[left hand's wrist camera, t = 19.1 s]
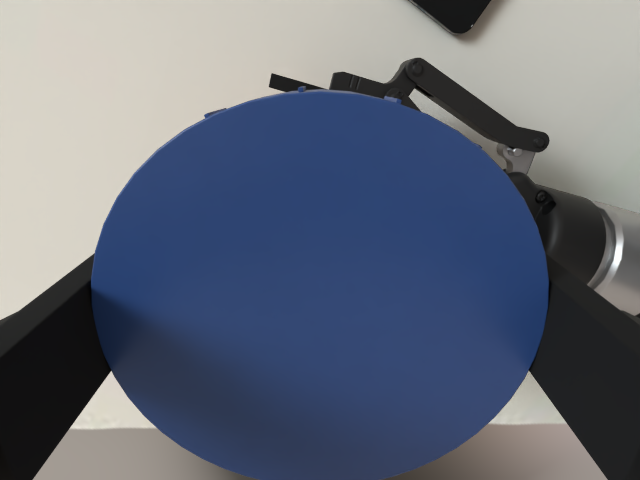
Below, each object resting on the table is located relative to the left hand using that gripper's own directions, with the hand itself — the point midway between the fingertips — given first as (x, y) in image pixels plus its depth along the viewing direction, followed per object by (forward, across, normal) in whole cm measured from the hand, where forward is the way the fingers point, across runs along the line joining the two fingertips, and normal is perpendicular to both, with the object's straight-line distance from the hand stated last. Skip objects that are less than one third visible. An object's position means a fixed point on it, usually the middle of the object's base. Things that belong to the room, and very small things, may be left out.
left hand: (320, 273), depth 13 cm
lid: (-3, 0, 0) cm, 3 cm away
